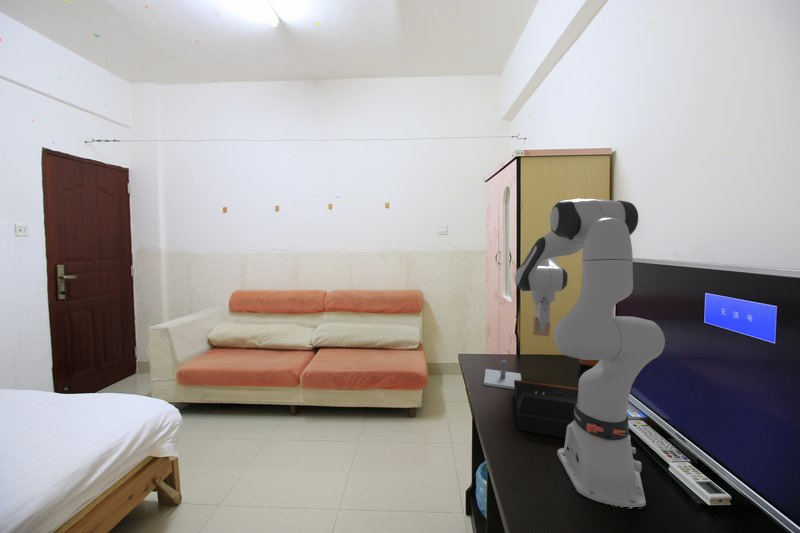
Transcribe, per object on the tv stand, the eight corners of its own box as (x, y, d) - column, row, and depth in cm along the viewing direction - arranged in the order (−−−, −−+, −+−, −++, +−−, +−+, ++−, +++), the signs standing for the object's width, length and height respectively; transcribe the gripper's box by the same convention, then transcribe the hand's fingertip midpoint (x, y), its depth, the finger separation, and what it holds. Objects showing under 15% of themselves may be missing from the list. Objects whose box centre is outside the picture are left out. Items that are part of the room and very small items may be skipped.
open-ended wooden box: (549, 336, 140) (550, 321, 139) (533, 334, 142) (534, 320, 141) (547, 332, 146) (548, 318, 145) (532, 330, 147) (533, 317, 147)
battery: (598, 379, 143) (600, 356, 142) (580, 377, 144) (581, 354, 143) (595, 375, 147) (597, 352, 146) (577, 373, 149) (579, 350, 148)
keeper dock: (521, 390, 132) (523, 370, 131) (483, 385, 136) (484, 365, 135) (520, 375, 145) (521, 357, 144) (485, 371, 149) (486, 353, 148)
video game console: (598, 407, 121) (601, 379, 120) (622, 451, 97) (625, 417, 96) (513, 394, 129) (514, 368, 128) (515, 432, 105) (517, 401, 104)
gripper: (555, 300, 131) (552, 336, 133) (548, 292, 151) (546, 323, 152) (537, 299, 133) (534, 334, 134) (533, 290, 152) (531, 321, 154)
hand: (541, 328), depth 143 cm, fingers closed on open-ended wooden box, 6 cm apart
